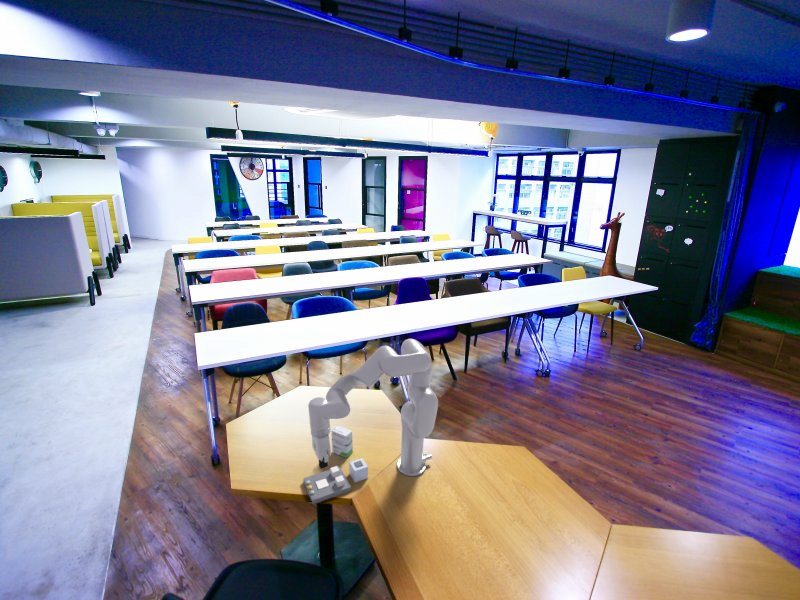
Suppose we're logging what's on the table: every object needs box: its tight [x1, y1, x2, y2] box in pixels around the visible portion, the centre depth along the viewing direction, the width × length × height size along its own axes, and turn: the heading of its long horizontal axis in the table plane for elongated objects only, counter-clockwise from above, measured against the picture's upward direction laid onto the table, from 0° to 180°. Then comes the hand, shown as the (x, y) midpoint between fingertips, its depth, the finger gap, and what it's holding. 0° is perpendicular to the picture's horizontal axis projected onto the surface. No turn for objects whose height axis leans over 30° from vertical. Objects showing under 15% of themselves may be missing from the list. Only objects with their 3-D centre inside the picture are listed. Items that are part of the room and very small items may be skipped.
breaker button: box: [315, 478, 329, 490], centre depth 168 cm, size 4×4×2 cm
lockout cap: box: [348, 457, 369, 483], centre depth 174 cm, size 6×6×6 cm
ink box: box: [331, 425, 354, 459], centre depth 187 cm, size 9×5×12 cm, turn 62°
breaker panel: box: [302, 465, 352, 505], centre depth 168 cm, size 16×13×5 cm
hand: (323, 466), depth 165 cm, fingers closed
